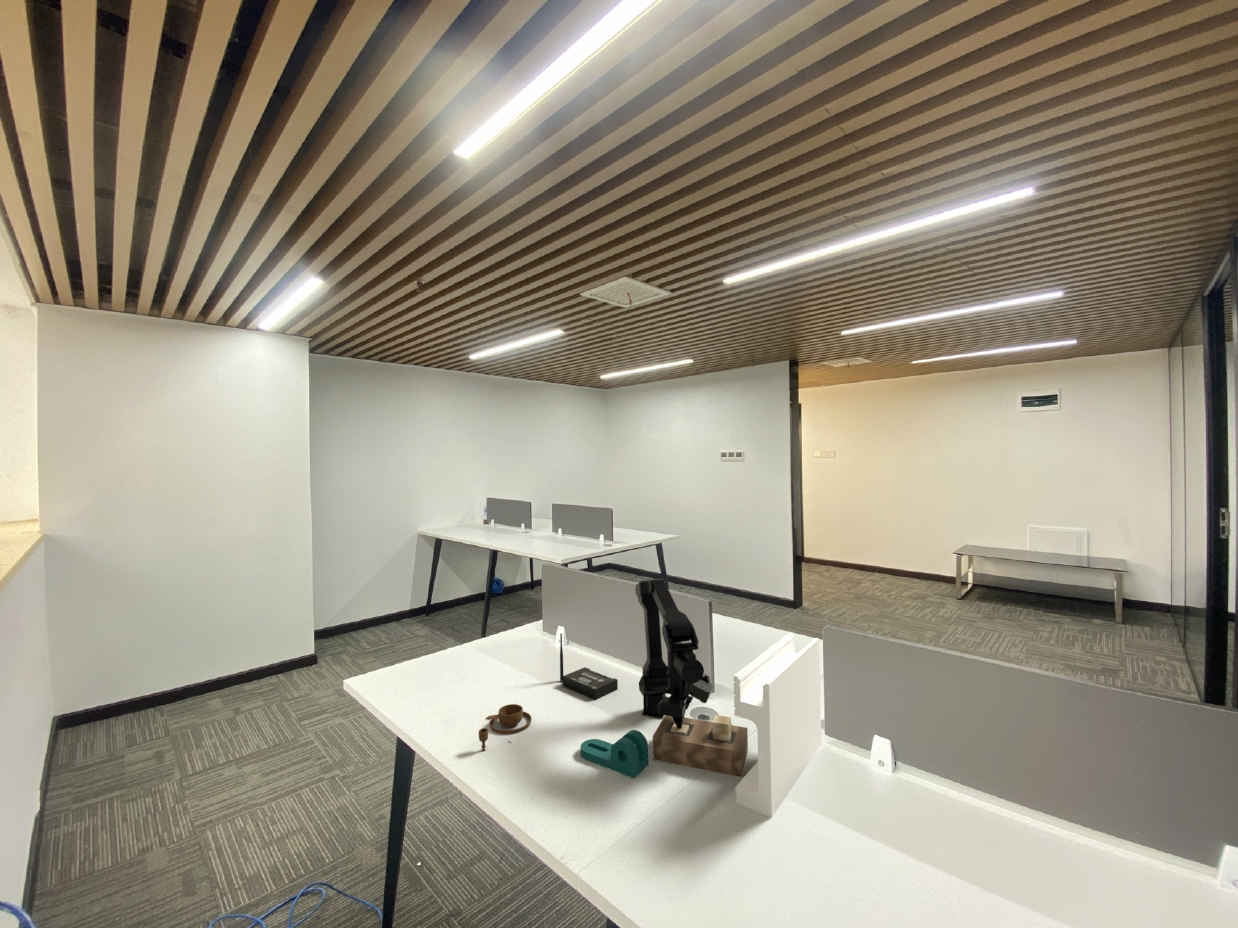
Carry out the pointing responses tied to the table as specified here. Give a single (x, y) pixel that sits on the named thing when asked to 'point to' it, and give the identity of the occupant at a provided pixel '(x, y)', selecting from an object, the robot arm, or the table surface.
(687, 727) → the peg
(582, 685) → the wireless controller
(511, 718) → the place setting
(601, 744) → the bracket
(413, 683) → the table surface
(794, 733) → the block
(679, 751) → the band block
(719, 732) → the peg
